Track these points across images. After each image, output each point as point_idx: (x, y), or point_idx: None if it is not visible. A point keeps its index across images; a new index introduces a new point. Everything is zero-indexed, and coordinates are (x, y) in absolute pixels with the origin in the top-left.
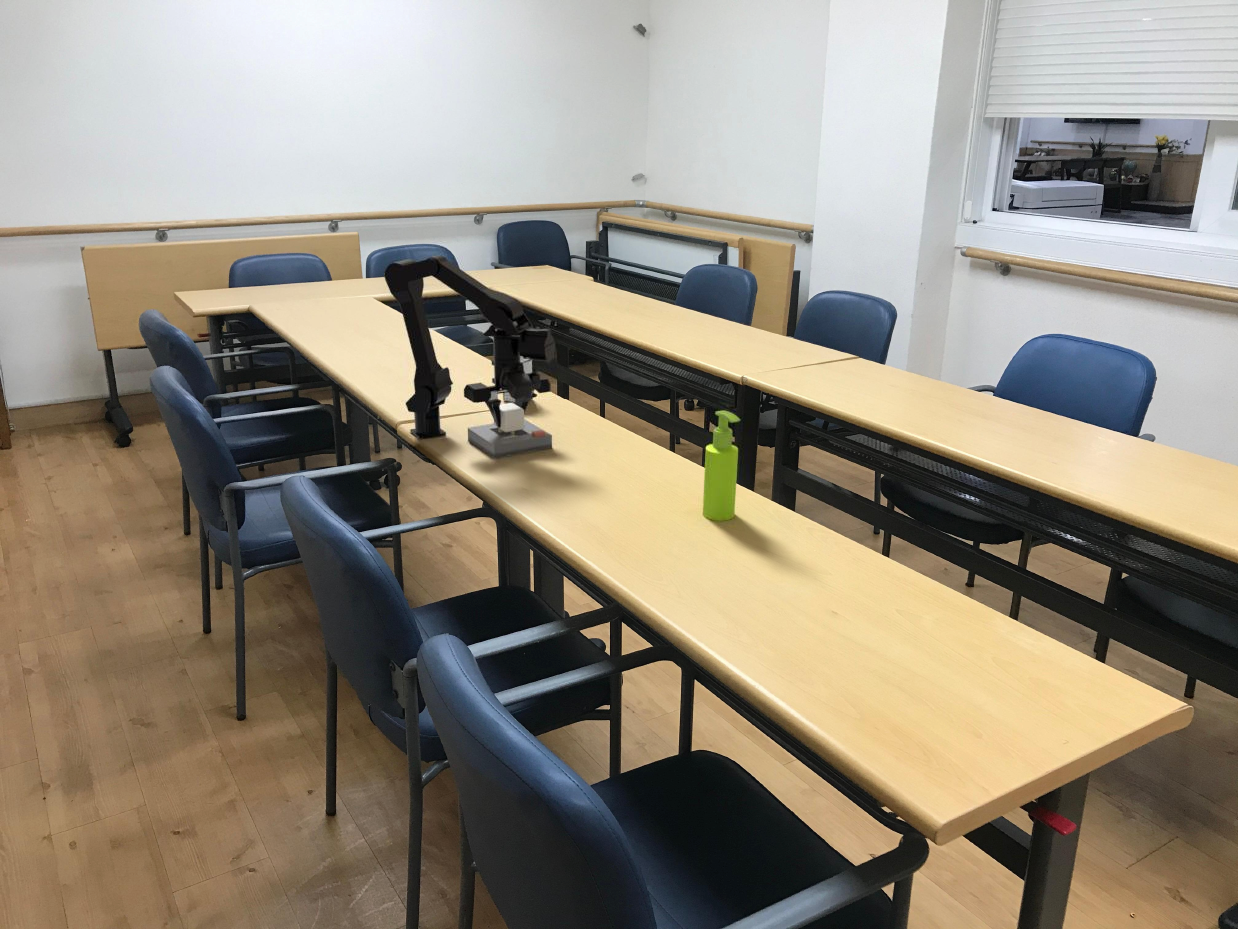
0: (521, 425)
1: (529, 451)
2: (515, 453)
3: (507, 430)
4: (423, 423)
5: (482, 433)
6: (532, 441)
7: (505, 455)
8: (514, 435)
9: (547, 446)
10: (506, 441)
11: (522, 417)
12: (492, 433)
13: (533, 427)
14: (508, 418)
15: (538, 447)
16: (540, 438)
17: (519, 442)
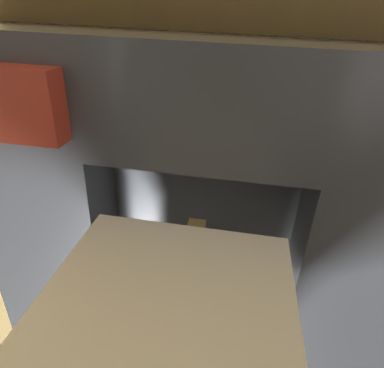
0: (112, 239)
1: (168, 31)
2: (288, 37)
3: (267, 243)
4: None
5: (369, 349)
6: (116, 34)
7: (380, 42)
8: (189, 219)
9: (20, 24)
10: (367, 104)
11: (57, 301)
12: (314, 316)
13: (15, 254)
14: (254, 350)
15: (89, 27)
16: (30, 31)
17: (250, 42)
